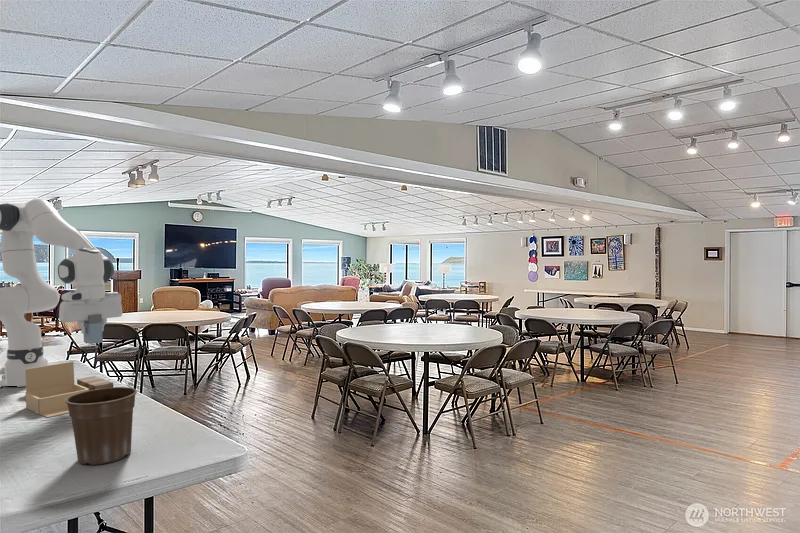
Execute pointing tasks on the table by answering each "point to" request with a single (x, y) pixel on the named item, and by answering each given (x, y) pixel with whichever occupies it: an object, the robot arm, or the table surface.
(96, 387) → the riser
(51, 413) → the light wooden open box
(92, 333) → the blue-grey rectangular block
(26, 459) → the table surface
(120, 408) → the plant pot
